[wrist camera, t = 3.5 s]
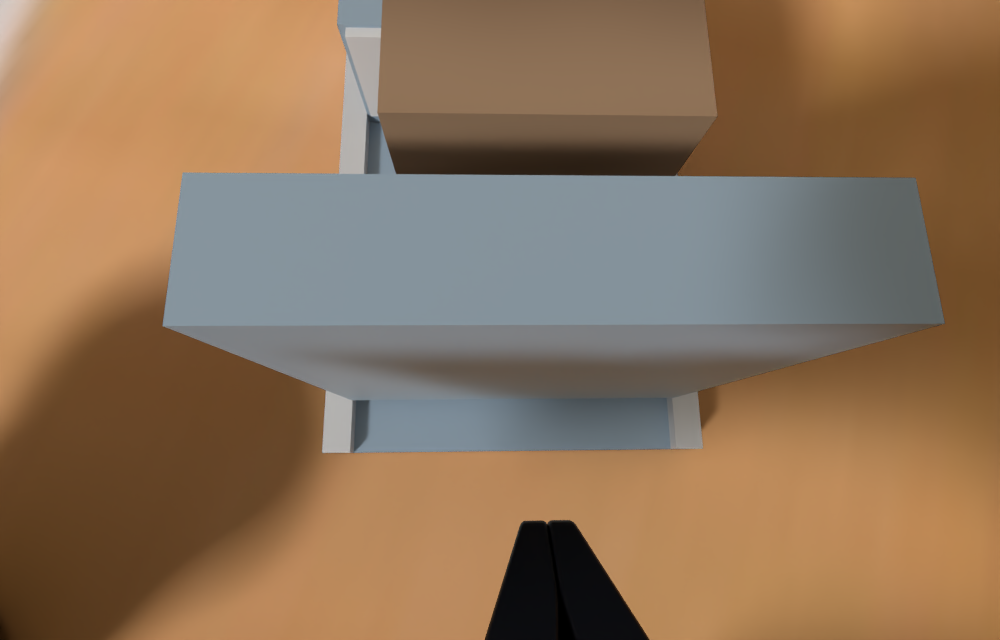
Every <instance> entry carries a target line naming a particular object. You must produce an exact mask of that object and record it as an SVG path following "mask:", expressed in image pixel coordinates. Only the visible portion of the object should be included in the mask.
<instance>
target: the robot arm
mask: <svg viewBox="0 0 1000 640" xmlns="http://www.w3.org/2000/svg"><path fill="white" fill-rule="evenodd" d="M485 640H649V638H648V637H647V635H646V633H645V632H644V630H643V629H642V627H641V626H640V624H639V623H638V621H637V619H636V618H635V616H634V615H633V613H632V612H631V610H630V608H629V607H628V605H627V604H626V602H625V601H624V599H623V598H622V596H621V594H620V593H619V591H618V590H617V588H616V587H615V585H614V584H613V582H612V580H611V579H610V577H609V576H608V574H607V573H606V571H605V569H604V568H603V566H602V565H601V563H600V562H599V560H598V559H597V557H596V555H595V554H594V552H593V551H592V549H591V548H590V546H589V545H588V543H587V541H586V540H585V538H584V537H583V535H582V534H581V532H580V530H579V529H578V527H577V526H576V525H575V523H574V522H572V521H570V520H552V521H549V522H548V524H546V522H544V521H523V522H522V523H521V525H520V527H519V531H518V534H517V537H516V540H515V544H514V547H513V550H512V553H511V556H510V560H509V563H508V566H507V569H506V573H505V576H504V579H503V582H502V585H501V589H500V592H499V595H498V598H497V602H496V605H495V608H494V611H493V614H492V618H491V621H490V624H489V627H488V631H487V634H486V637H485Z"/></svg>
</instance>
